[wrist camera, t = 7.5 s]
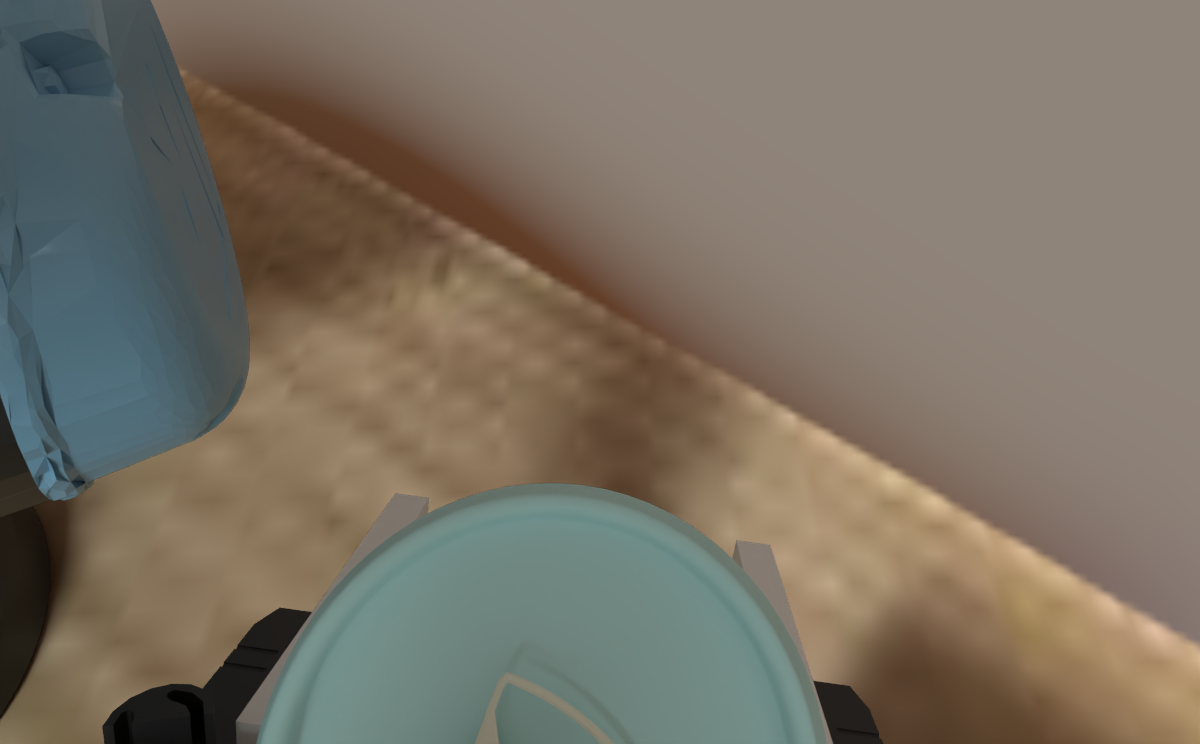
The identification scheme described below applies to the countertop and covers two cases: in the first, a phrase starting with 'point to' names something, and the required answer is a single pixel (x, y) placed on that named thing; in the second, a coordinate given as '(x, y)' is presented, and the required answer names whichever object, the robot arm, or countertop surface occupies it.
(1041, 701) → the countertop surface
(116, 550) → the countertop surface
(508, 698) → the can
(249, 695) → the robot arm
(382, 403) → the countertop surface
